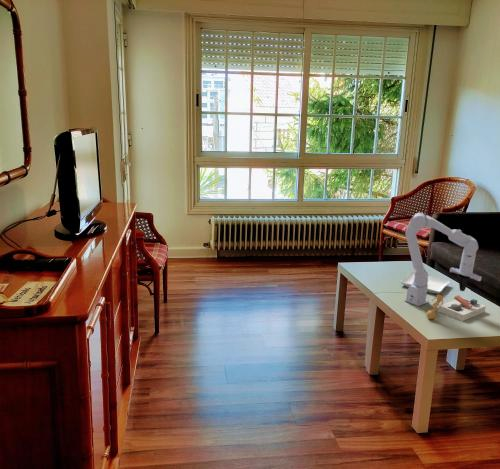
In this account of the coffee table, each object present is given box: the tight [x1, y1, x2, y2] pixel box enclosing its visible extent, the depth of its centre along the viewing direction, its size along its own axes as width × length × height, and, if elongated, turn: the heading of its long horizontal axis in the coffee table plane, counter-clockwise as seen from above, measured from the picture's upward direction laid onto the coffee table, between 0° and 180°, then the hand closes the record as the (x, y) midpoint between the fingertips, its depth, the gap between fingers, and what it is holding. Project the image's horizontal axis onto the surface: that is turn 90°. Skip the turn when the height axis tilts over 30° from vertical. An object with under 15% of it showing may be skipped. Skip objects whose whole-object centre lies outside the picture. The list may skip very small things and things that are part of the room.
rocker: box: [453, 295, 473, 309], centre depth 213 cm, size 3×8×1 cm, turn 36°
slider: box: [470, 298, 478, 305], centre depth 215 cm, size 2×2×2 cm
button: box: [451, 304, 461, 312], centre depth 210 cm, size 4×4×3 cm
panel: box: [437, 297, 487, 322], centre depth 214 cm, size 20×12×4 cm, turn 126°
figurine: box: [426, 293, 444, 320], centre depth 203 cm, size 8×6×12 cm
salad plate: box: [399, 271, 451, 295], centre depth 246 cm, size 21×21×3 cm
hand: (462, 290), depth 215 cm, fingers closed
